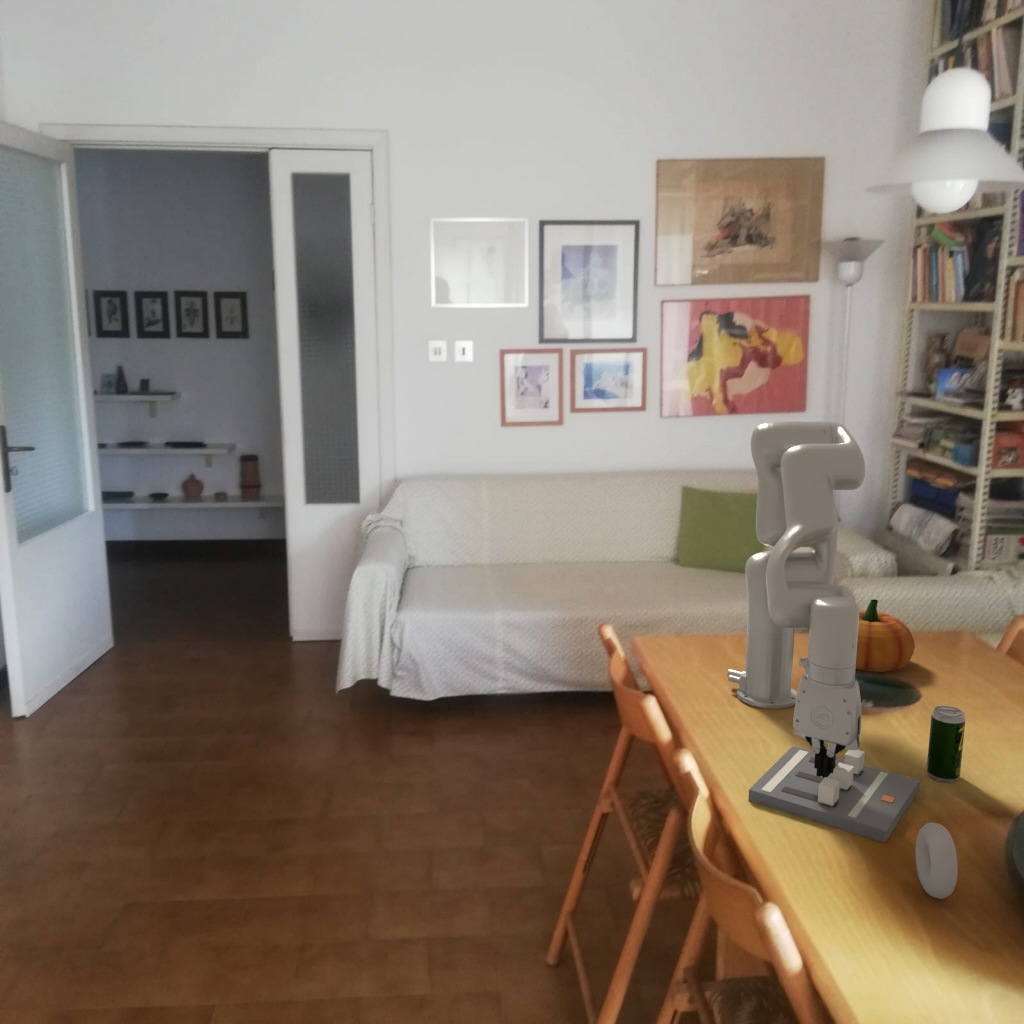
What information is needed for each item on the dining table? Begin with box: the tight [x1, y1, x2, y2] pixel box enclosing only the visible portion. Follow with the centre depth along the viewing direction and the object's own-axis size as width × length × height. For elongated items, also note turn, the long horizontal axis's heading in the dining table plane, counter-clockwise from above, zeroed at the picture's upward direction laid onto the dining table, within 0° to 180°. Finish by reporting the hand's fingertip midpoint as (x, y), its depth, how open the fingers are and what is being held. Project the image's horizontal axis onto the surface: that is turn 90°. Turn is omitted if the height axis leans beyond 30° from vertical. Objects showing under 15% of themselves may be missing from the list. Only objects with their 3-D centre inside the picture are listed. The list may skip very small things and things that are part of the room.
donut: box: [914, 822, 959, 900], centre depth 131 cm, size 10×4×10 cm, turn 173°
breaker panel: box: [748, 745, 921, 844], centre depth 158 cm, size 22×20×5 cm
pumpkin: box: [855, 598, 916, 673], centre depth 217 cm, size 19×19×15 cm
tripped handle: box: [833, 762, 854, 790], centre depth 157 cm, size 2×3×3 cm
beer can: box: [926, 705, 966, 783], centre depth 164 cm, size 5×5×12 cm
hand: (824, 774), depth 159 cm, fingers closed
